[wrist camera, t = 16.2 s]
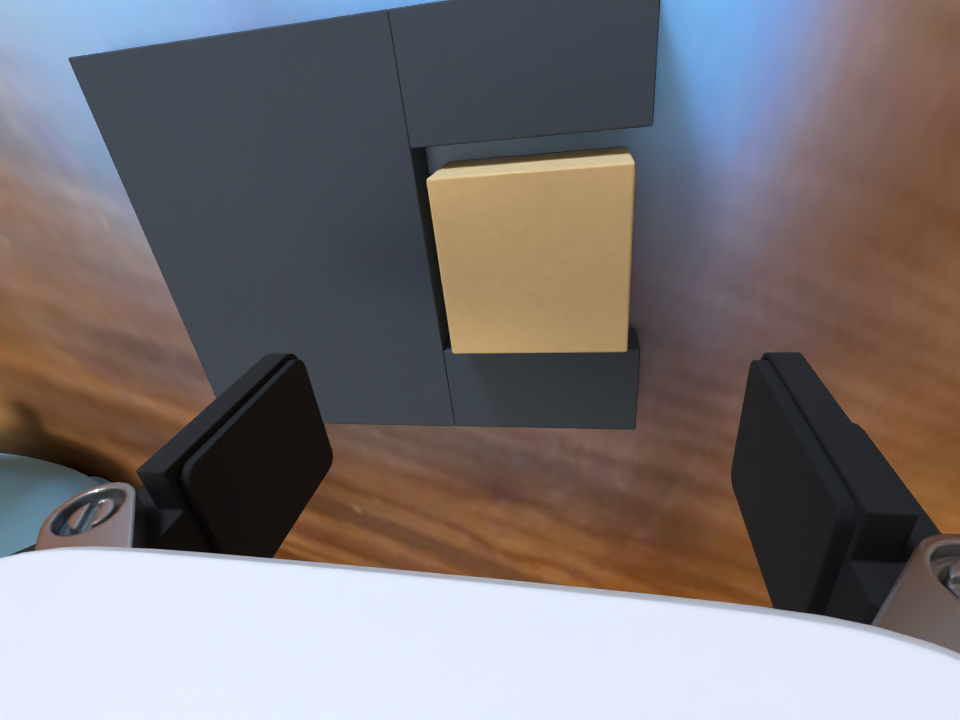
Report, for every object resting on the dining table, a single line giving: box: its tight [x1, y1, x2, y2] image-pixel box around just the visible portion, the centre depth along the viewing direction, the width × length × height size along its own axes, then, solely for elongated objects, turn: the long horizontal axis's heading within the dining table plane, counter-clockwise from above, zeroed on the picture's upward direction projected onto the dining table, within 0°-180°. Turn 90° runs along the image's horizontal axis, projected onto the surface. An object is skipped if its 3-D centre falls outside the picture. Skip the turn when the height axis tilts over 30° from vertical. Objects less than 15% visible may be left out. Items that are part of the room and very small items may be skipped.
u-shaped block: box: [68, 0, 660, 430], centre depth 21 cm, size 20×16×2 cm
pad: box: [427, 147, 636, 354], centre depth 19 cm, size 7×7×3 cm
